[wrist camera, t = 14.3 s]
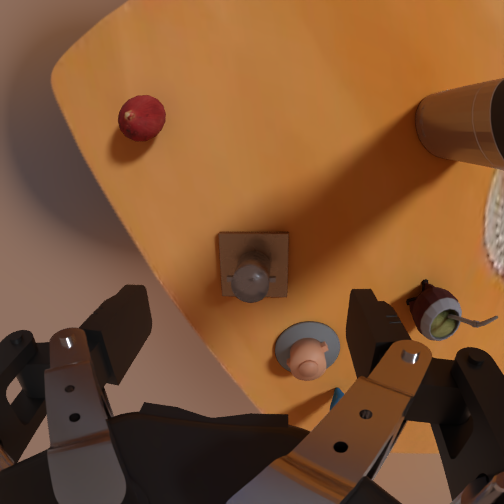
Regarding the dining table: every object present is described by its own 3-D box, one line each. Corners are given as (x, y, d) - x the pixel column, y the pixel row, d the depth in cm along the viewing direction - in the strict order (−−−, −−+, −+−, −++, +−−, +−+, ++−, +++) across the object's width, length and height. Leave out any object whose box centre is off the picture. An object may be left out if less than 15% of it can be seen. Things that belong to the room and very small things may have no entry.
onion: (161, 147, 39) (136, 149, 32) (127, 131, 39) (97, 131, 31) (180, 107, 38) (158, 101, 30) (144, 92, 37) (117, 84, 30)
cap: (333, 353, 47) (337, 371, 43) (296, 370, 49) (297, 389, 44) (318, 329, 46) (321, 348, 41) (279, 348, 47) (279, 367, 43)
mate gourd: (403, 321, 45) (438, 384, 31) (404, 276, 43) (447, 331, 28) (444, 311, 44) (487, 367, 30) (447, 267, 42) (499, 315, 27)
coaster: (342, 320, 46) (343, 323, 45) (335, 371, 49) (335, 374, 48) (275, 321, 46) (275, 323, 46) (274, 372, 50) (274, 374, 49)
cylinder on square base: (288, 231, 42) (289, 249, 35) (287, 294, 45) (287, 319, 38) (219, 231, 43) (209, 248, 36) (223, 292, 46) (214, 317, 39)
